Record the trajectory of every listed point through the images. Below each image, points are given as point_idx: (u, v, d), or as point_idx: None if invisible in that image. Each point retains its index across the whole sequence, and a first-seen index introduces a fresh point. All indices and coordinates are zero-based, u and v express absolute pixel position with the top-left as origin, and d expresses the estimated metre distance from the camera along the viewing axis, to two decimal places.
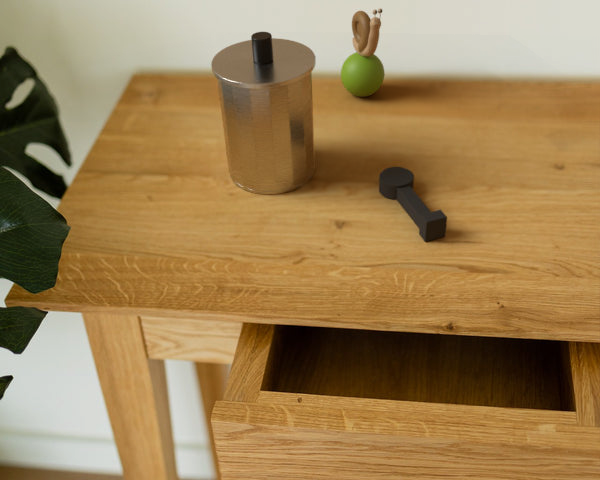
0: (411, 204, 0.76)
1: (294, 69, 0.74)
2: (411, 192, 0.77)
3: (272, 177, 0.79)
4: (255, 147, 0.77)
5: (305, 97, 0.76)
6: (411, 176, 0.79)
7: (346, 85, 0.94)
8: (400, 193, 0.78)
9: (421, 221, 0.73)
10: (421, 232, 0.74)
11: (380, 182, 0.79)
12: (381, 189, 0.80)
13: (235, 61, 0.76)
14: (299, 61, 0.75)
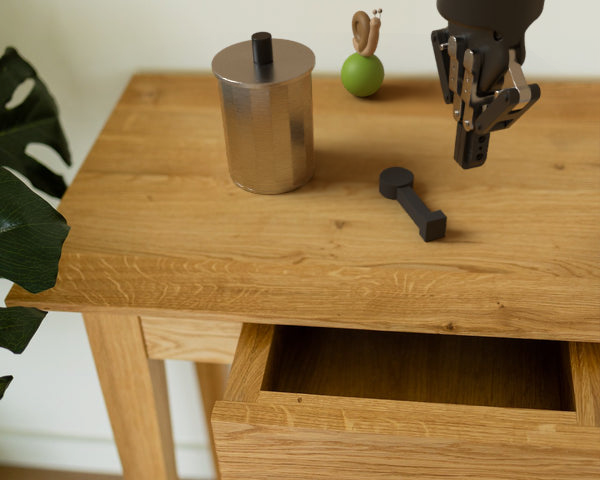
0: (411, 204, 0.76)
1: (294, 69, 0.74)
2: (411, 192, 0.77)
3: (272, 177, 0.79)
4: (255, 147, 0.77)
5: (305, 97, 0.76)
6: (411, 176, 0.79)
7: (346, 85, 0.94)
8: (400, 193, 0.78)
9: (421, 221, 0.73)
10: (421, 232, 0.74)
11: (380, 182, 0.79)
12: (381, 189, 0.80)
13: (235, 61, 0.76)
14: (299, 61, 0.75)
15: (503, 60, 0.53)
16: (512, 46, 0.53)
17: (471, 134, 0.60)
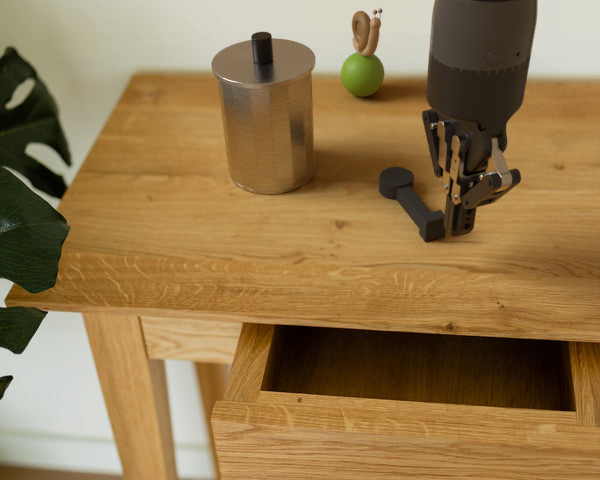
0: (411, 204, 0.76)
1: (294, 69, 0.74)
2: (411, 192, 0.77)
3: (272, 177, 0.79)
4: (255, 147, 0.77)
5: (305, 97, 0.76)
6: (411, 176, 0.79)
7: (346, 85, 0.94)
8: (400, 193, 0.78)
9: (421, 221, 0.73)
10: (421, 232, 0.74)
11: (380, 182, 0.79)
12: (381, 189, 0.80)
13: (235, 61, 0.76)
14: (299, 61, 0.75)
15: (486, 148, 0.58)
16: (495, 136, 0.58)
17: (459, 206, 0.65)
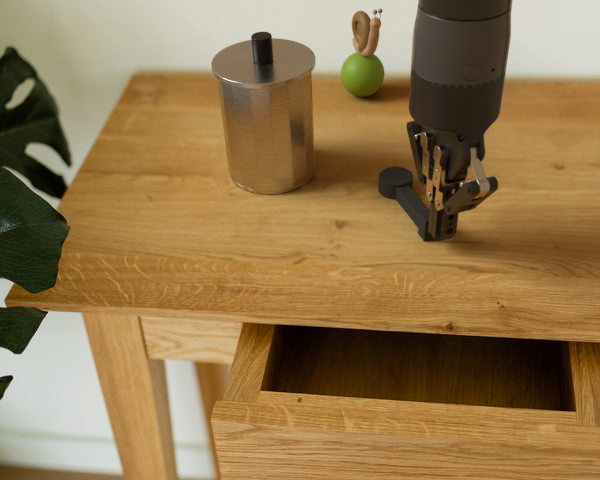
0: (410, 204, 0.76)
1: (294, 69, 0.74)
2: (410, 192, 0.78)
3: (272, 177, 0.79)
4: (255, 147, 0.77)
5: (305, 97, 0.76)
6: (410, 176, 0.79)
7: (346, 85, 0.94)
8: (399, 193, 0.78)
9: (420, 221, 0.73)
10: (420, 232, 0.74)
11: (379, 181, 0.79)
12: (380, 188, 0.80)
13: (235, 61, 0.76)
14: (299, 61, 0.75)
15: (465, 157, 0.62)
16: (473, 145, 0.62)
17: (442, 212, 0.69)
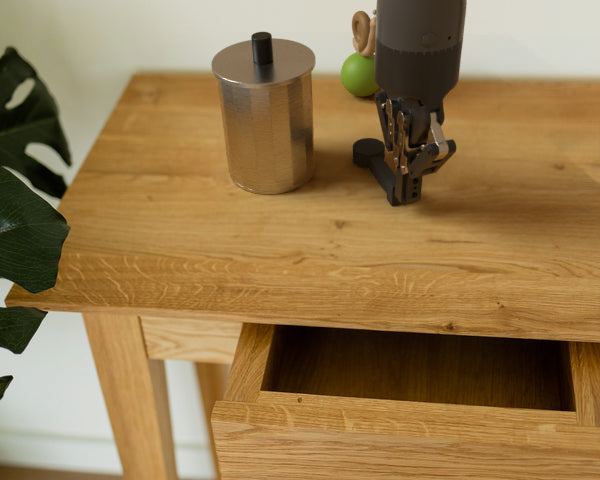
0: (380, 171, 0.80)
1: (294, 69, 0.74)
2: (381, 161, 0.82)
3: (272, 177, 0.79)
4: (255, 147, 0.77)
5: (305, 97, 0.76)
6: (382, 146, 0.84)
7: (346, 85, 0.94)
8: (371, 162, 0.82)
9: (388, 186, 0.78)
10: (388, 197, 0.79)
11: (353, 152, 0.84)
12: (354, 158, 0.84)
13: (235, 61, 0.76)
14: (299, 61, 0.75)
15: (426, 121, 0.66)
16: (433, 110, 0.66)
17: (407, 177, 0.74)
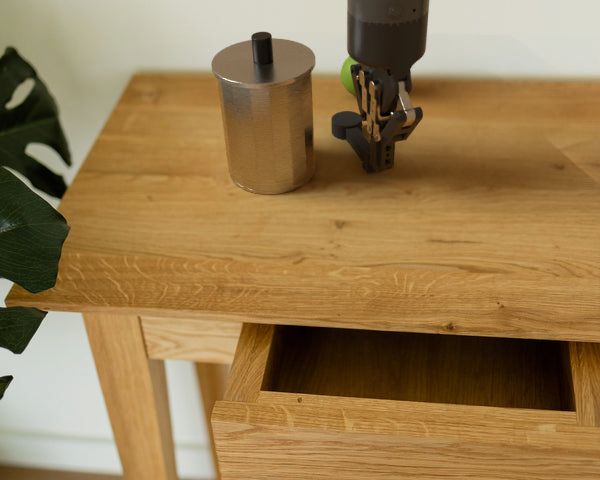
0: (357, 142, 0.85)
1: (294, 69, 0.74)
2: (358, 132, 0.87)
3: (272, 177, 0.79)
4: (255, 147, 0.77)
5: (305, 97, 0.76)
6: (360, 119, 0.88)
7: (346, 85, 0.94)
8: (348, 133, 0.87)
9: (363, 155, 0.83)
10: (364, 165, 0.83)
11: (332, 124, 0.89)
12: (333, 130, 0.89)
13: (235, 61, 0.76)
14: (299, 61, 0.75)
15: (394, 89, 0.71)
16: (401, 79, 0.71)
17: (380, 144, 0.78)
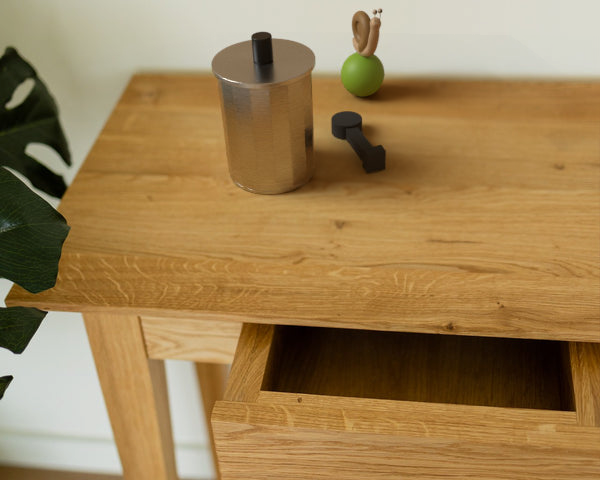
0: (357, 141, 0.85)
1: (294, 69, 0.74)
2: (358, 132, 0.87)
3: (272, 177, 0.79)
4: (255, 147, 0.77)
5: (305, 97, 0.76)
6: (359, 119, 0.88)
7: (346, 85, 0.94)
8: (348, 133, 0.87)
9: (363, 154, 0.83)
10: (364, 165, 0.83)
11: (332, 124, 0.89)
12: (333, 130, 0.89)
13: (235, 61, 0.76)
14: (299, 61, 0.75)
15: None
16: None
17: None
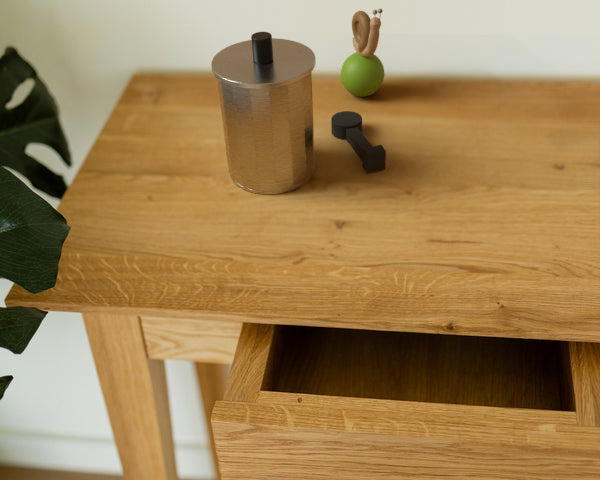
0: (357, 141, 0.85)
1: (294, 69, 0.74)
2: (358, 132, 0.87)
3: (272, 177, 0.79)
4: (255, 147, 0.77)
5: (305, 97, 0.76)
6: (359, 119, 0.88)
7: (346, 85, 0.94)
8: (348, 133, 0.87)
9: (363, 154, 0.83)
10: (364, 165, 0.83)
11: (332, 124, 0.89)
12: (333, 130, 0.89)
13: (235, 61, 0.76)
14: (299, 61, 0.75)
15: None
16: None
17: None
